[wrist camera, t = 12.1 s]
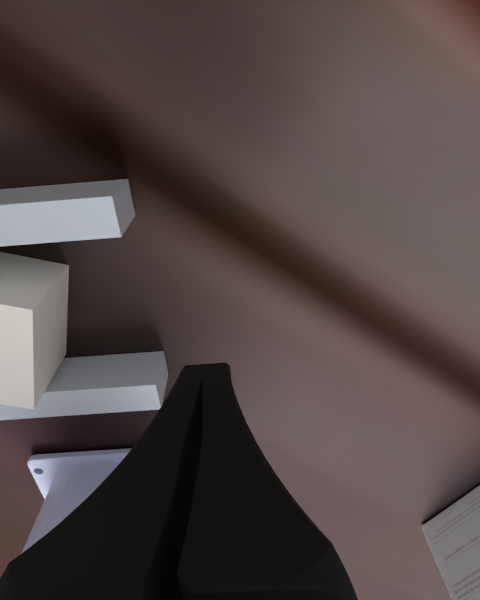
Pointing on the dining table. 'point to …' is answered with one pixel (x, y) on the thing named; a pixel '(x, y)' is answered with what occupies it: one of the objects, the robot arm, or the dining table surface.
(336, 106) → the dining table surface
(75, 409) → the dock
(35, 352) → the white block
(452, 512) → the supplement box
